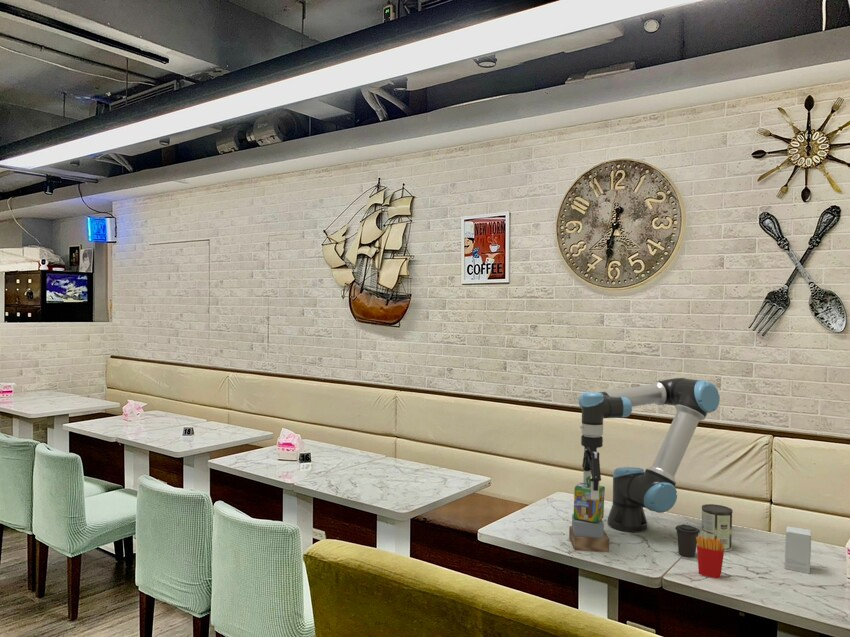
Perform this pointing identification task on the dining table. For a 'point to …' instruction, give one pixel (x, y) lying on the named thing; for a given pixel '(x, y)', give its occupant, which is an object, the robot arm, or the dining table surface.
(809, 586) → the dining table surface
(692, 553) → the coffee cup
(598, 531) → the slate top block
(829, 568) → the dining table surface
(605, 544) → the walnut base block
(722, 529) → the coffee can
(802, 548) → the supplement box
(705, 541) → the french fries
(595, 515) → the chalk box
